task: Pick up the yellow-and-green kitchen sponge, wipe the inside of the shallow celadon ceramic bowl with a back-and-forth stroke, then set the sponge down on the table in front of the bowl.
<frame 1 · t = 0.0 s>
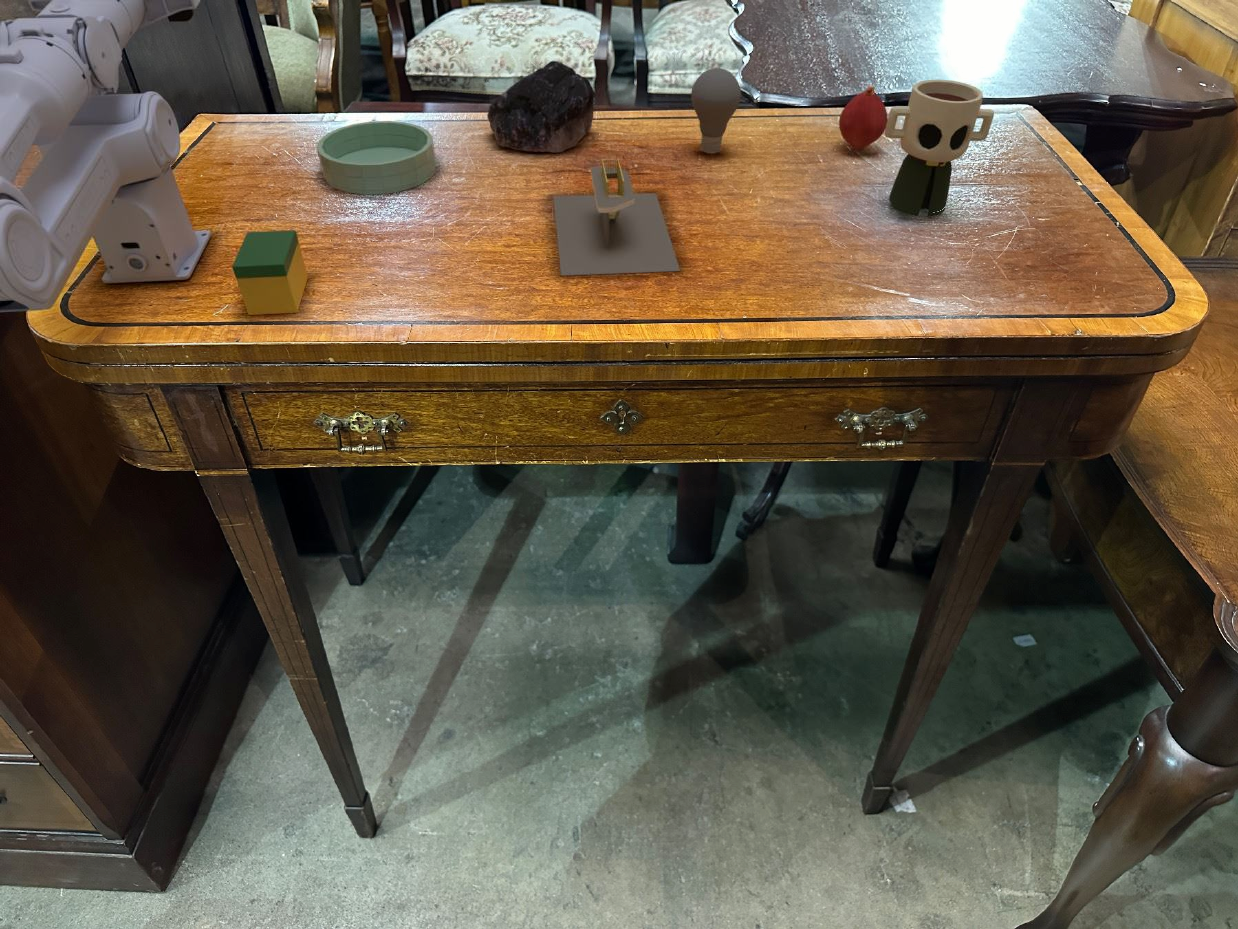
dark rough boulder: (542, 138, 107), on the table
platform: (612, 232, 88), on the table
light bulb: (710, 153, 104), on the table
bowl: (380, 170, 99), on the table
character mug: (914, 210, 93), on the table
onion: (856, 152, 106), on the table
sponge: (279, 295, 78), on the table
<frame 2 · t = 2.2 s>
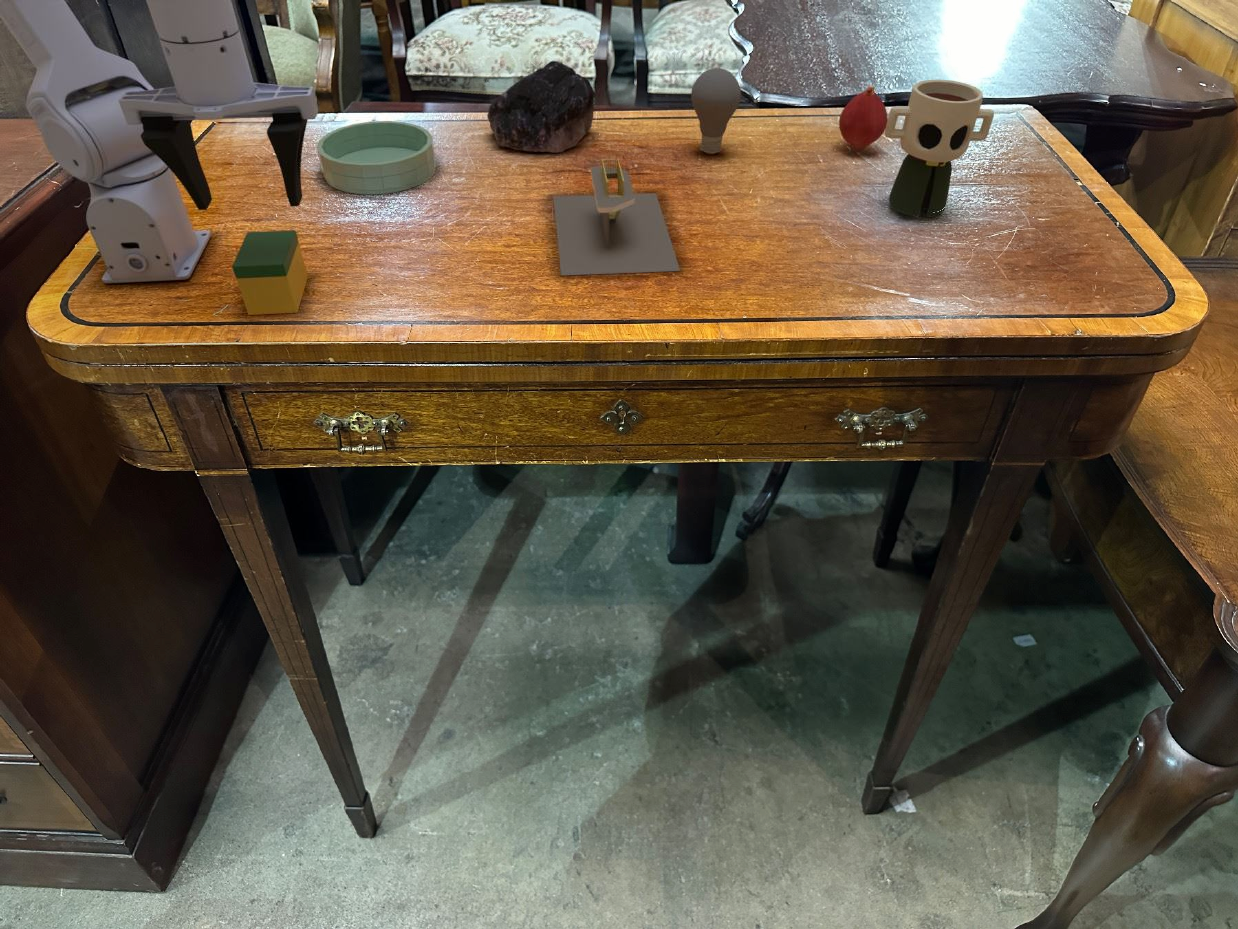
hand: (251, 203, 71), 9 cm above the table, tool pointing down, fingers open, 7 cm apart
nothing on the table moved.
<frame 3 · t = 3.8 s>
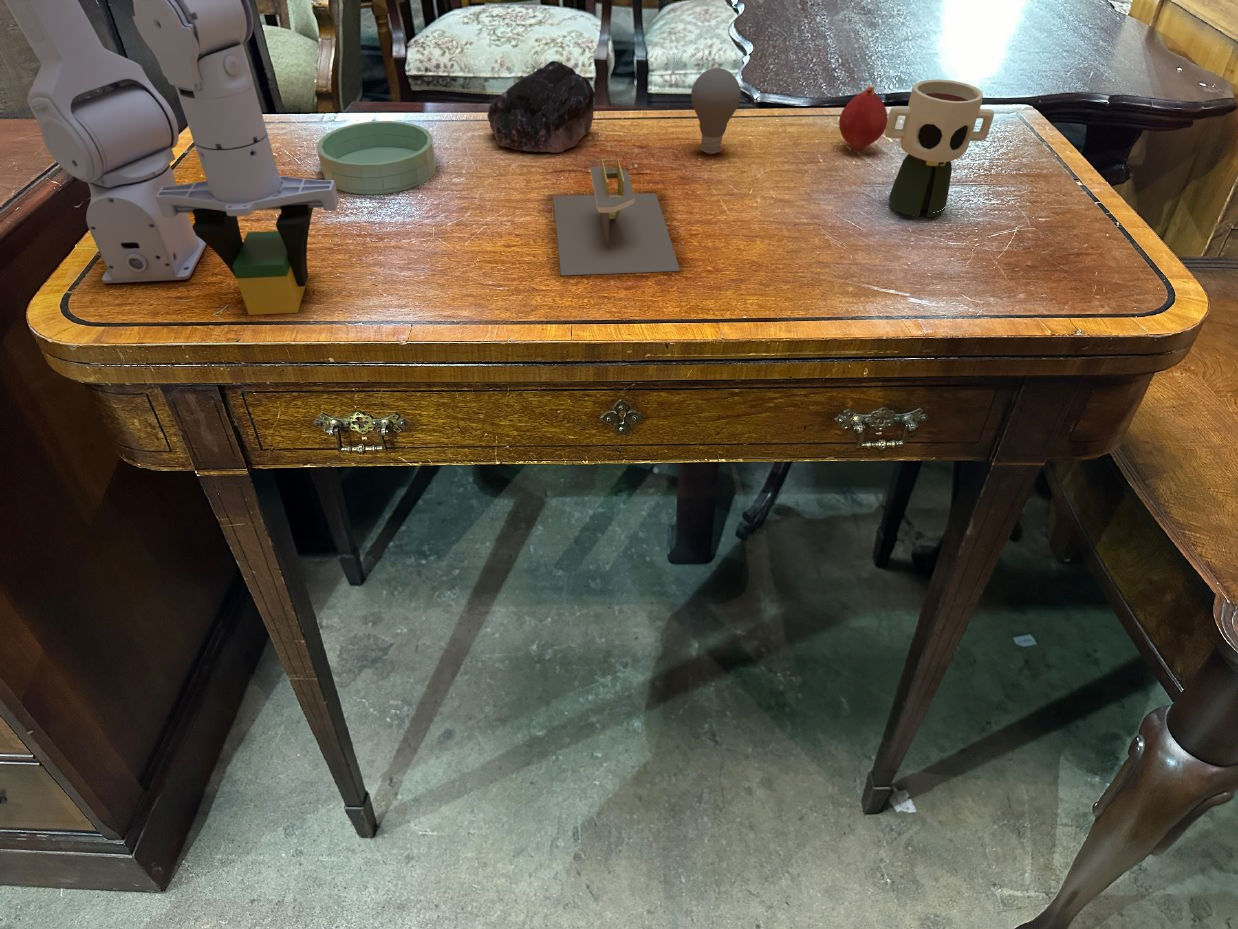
hand: (275, 282, 77), 1 cm above the table, tool pointing down, fingers closed on sponge, 4 cm apart
sponge: (279, 295, 78), on the table, touching gripper
everything else where it was.
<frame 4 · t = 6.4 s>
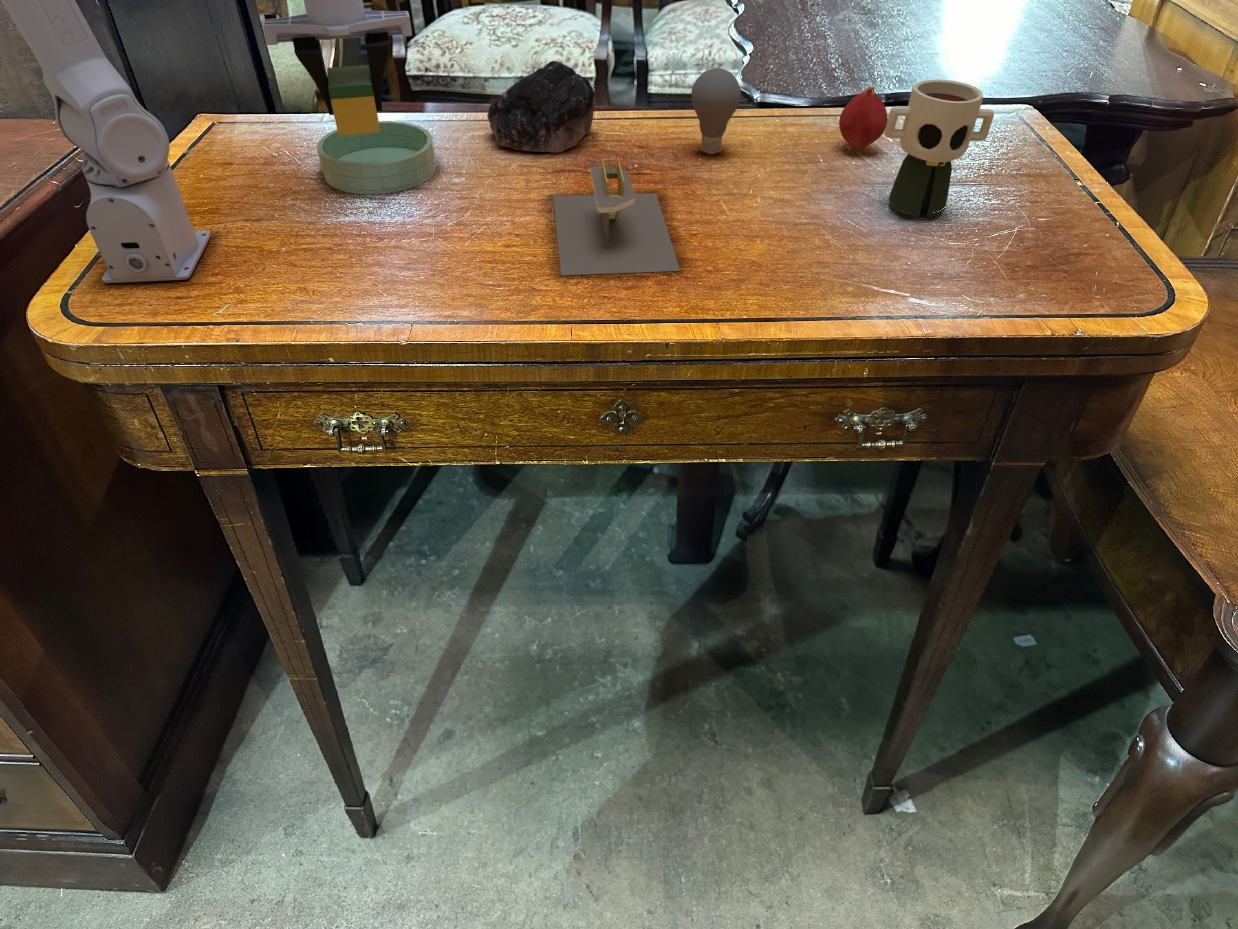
hand: (355, 109, 90), 9 cm above the table, tool pointing down, fingers closed on sponge, 4 cm apart
sponge: (358, 123, 91), point 7 cm above the table, touching gripper
everything else where it was.
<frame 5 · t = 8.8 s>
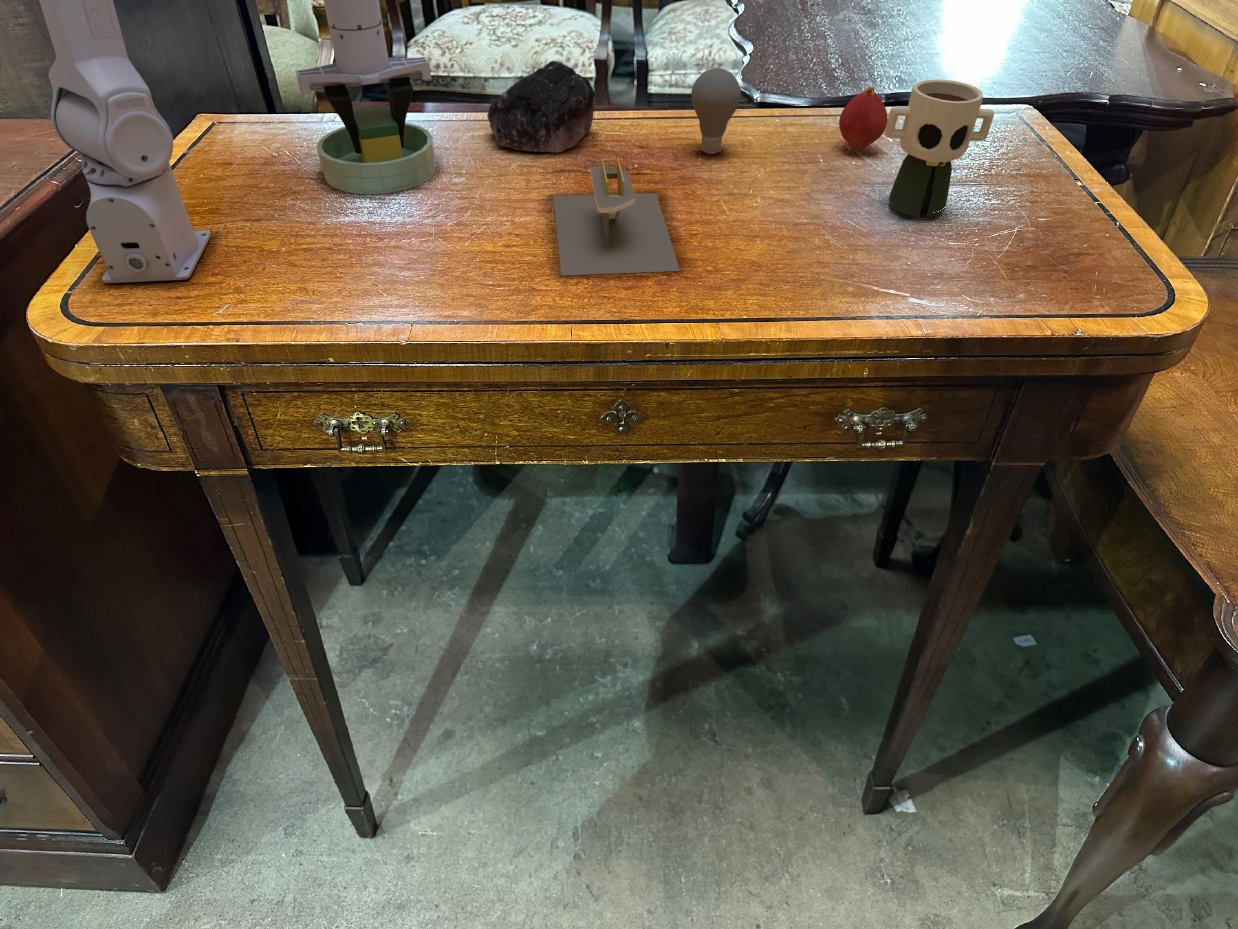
hand: (378, 147, 98), 2 cm above the table, tool pointing down, fingers closed on sponge, 4 cm apart
sponge: (381, 159, 99), point 1 cm above the table, touching gripper
everything else where it was.
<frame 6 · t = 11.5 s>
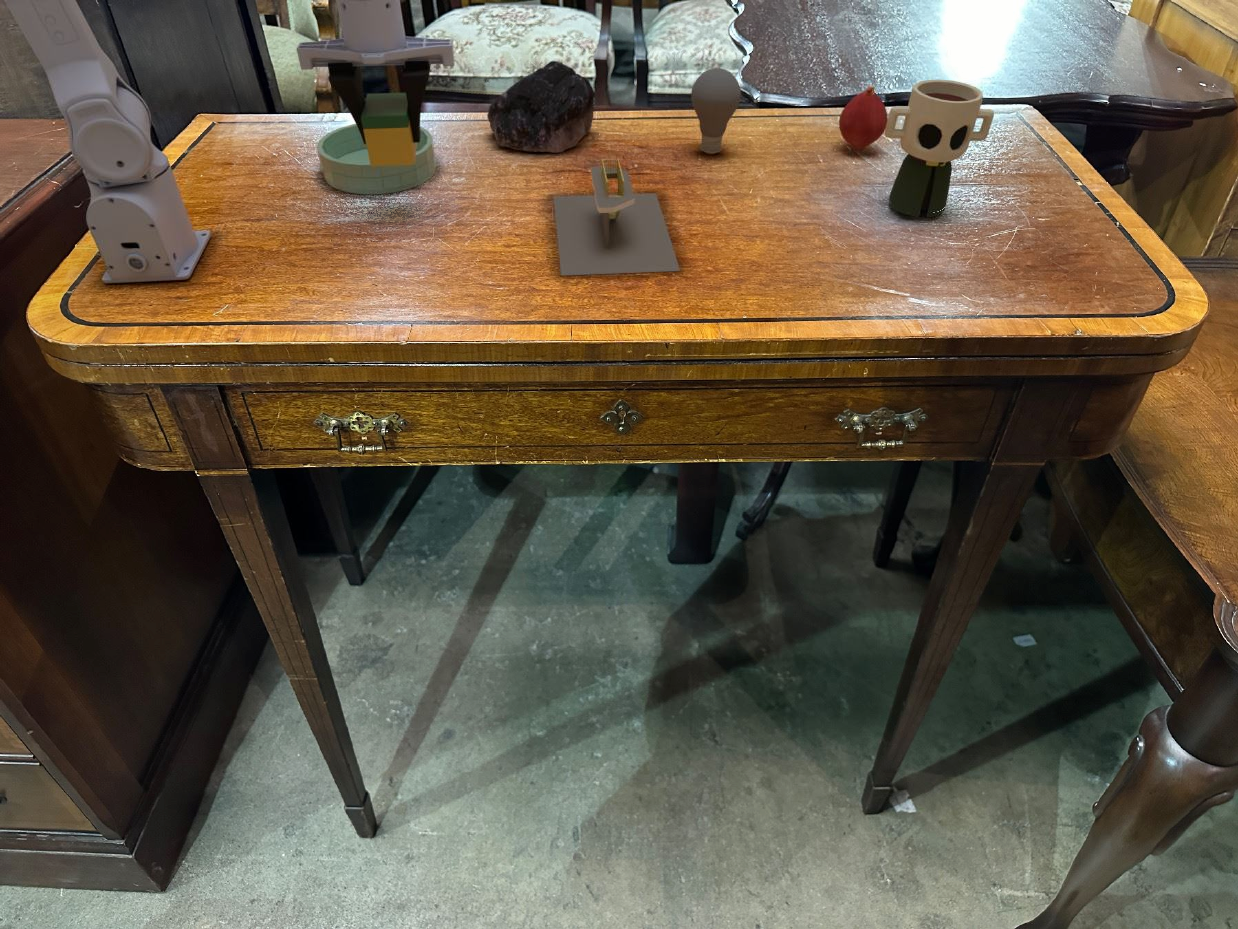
hand: (392, 139, 85), 8 cm above the table, tool pointing down, fingers closed on sponge, 4 cm apart
sponge: (394, 153, 86), point 7 cm above the table, touching gripper
everything else where it was.
when the fingers open (1 cm above the table, at t = 13.7 s): sponge stays where it is, on the table.
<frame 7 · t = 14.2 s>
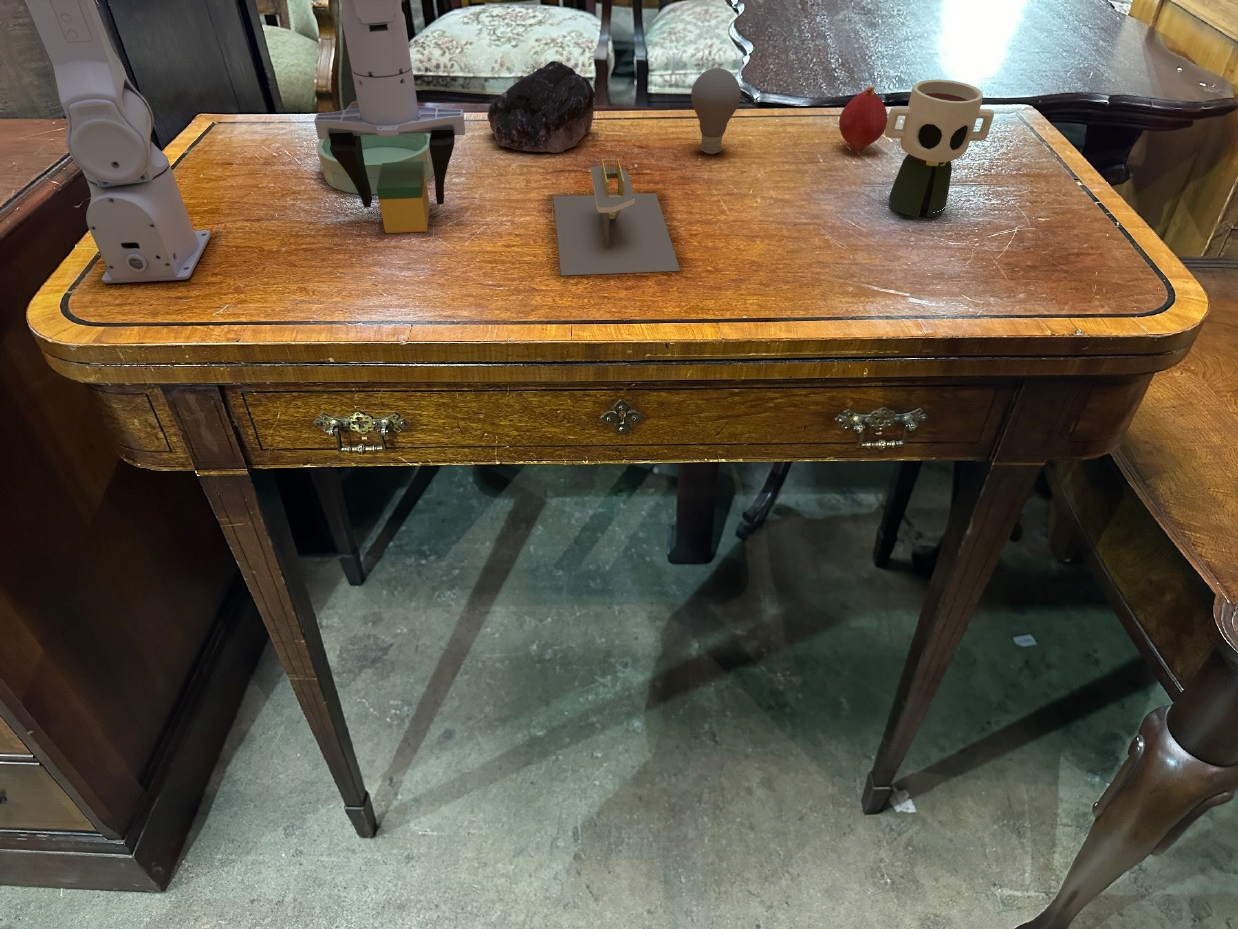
hand: (404, 201, 88), 2 cm above the table, tool pointing down, fingers open, 7 cm apart
sponge: (408, 218, 90), on the table
everything else where it was.
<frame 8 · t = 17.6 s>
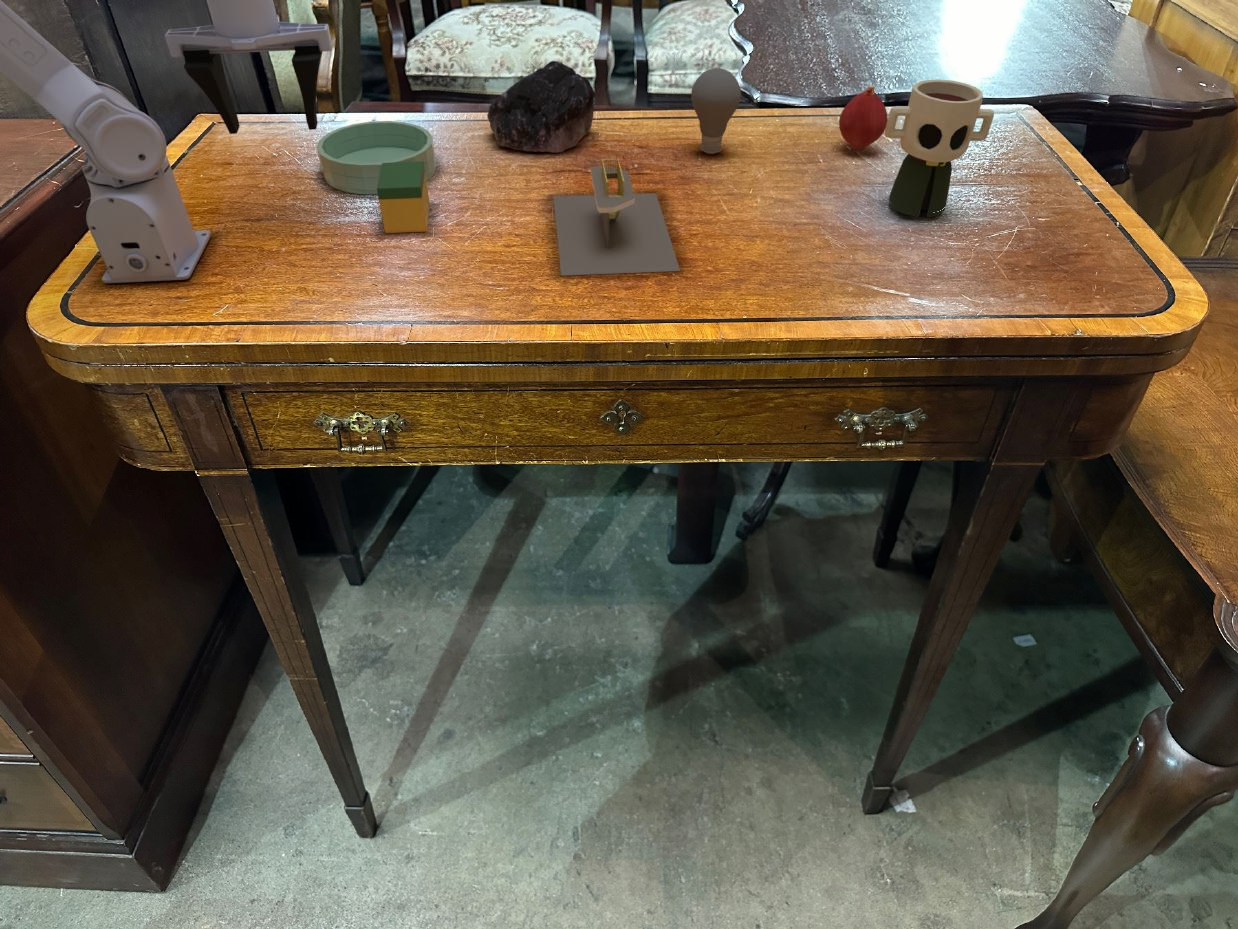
hand: (274, 128, 83), 9 cm above the table, tool pointing down, fingers open, 7 cm apart
nothing on the table moved.
at the end: sponge 0.1 cm from the target spot on the table beside the bowl, on the table; sponge tilted 0°; the gripper is holding nothing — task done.
